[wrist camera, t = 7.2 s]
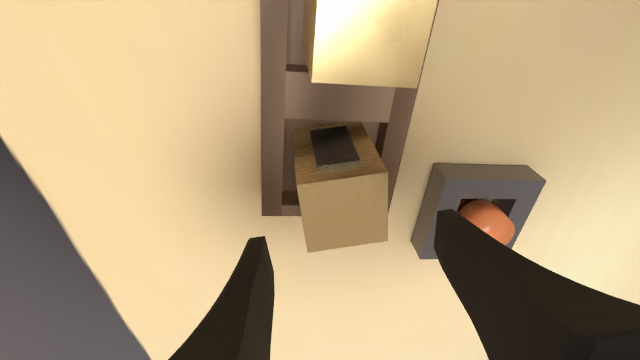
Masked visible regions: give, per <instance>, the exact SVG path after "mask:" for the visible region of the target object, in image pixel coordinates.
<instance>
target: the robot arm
mask: <svg viewBox="0 0 640 360" xmlns="http://www.w3.org/2000/svg"><path fill="white" fill-rule="evenodd" d="M434 249H435V252H436V255H437V257H438V260H439V262H440V264H441V267H442V269H443V271H444V273H445V274H446V276H447V278H448V280H449V282H450V283H451V285H452V287H453V289H454V290H455V292H456V294H457V296H458V297H459V299H460V301H461V302H462V304H463V306H464V308H465V309H466V311H467V313H468V315H469V317H470V318H471V320H472V322H473V324H474V326H475V328H476V331H477V333H478V335H479V337H480V340H481V342H482V344H483V346H484V349H485V351H486V353H487V356H488V358H489V360H640V305H638V304H635V303H632V302H628V301H625V300H622V299H619V298H616V297H613V296H610V295H608V294H605V293H602V292H600V291H597V290H594V289H592V288H589V287H587V286H584V285H582V284H579V283H577V282H574V281H572V280H570V279H568V278H565V277H563V276H561V275H559V274H556V273H554V272H552V271H550V270H548V269H546V268H544V267H542V266H540V265H538V264H537V263H535V262H533V261H531V260H529V259H527V258H525V257H524V256H522V255H520V254H518V253H517V252H515V251H513V250H512V249H510V248H508V247H507V246H505V245H504V244H502V243H500V242H499V241H497V240H496V239H494V238H493V237H491V236H490V235H488V234H487V233H485V232H484V231H483V230H481V229H480V228H478V227H477V226H476V225H474V224H473V223H471V222H470V221H469V220H467V219H466V218H464V217H463V216H462V215H460V214H459V213H457V212H456V211H454V210H453V209H447V210H440V211H437V220H436V229H435V238H434ZM273 307H274V271H273V267H272V263H271V259H270V255H269V251H268V247H267V243H266V239H265V236H263V237H256V238H250V239H249V240H248V242H247V244H246V246H245V249H244V251H243V253H242V255H241V257H240V260H239V262H238V264H237V266H236V267H235V269H234V271H233V273H232V275H231V277H230V279H229V280H228V282H227V284H226V286H225V287H224V289H223V290H222V292H221V294H220V295H219V297H218V299H217V300H216V302H215V303H214V305H213V306H212V308H211V309H210V310H209V312H208V313H207V315H206V316H205V317H204V319H203V320H202V321H201V323H200V324H199V325H198V326H197V328H196V329H195V330H194V331H193V333H192V334H191V335H190V336H189V338H188V339H187V340H186V341H185V342H184V343H183V344H182V346H181V347H180V348H179V349H178V350H177V351H176V352H175V353H174V354H173V355H172V356H171V357H170V358H169V359H168V360H270V345H271V333H272V320H273Z"/></svg>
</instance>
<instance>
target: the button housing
mask: <svg viewBox="0 0 640 360" xmlns="http://www.w3.org/2000/svg"><path fill="white" fill-rule="evenodd" d="M545 183H546V180H545V179H544V178H542V177H541V176H540V175H539V174H537V173H536V172H535V171H534V170H532V169H531V168H530V167H529V166H518V165H478V164H438V163H434V166H433V169H432V172H431V176H430V179H429V183H428V186H427V189H426V193H425V196H424V199H423V203H422V206H421V209H420V213H419V216H418V219H417V223H416V226H415V229H414V233H413V236H412V239H411V242H412V244H413V246H414V248H415V250H416V252H417V254H418V256H419V258H420V259H438V257H437V255H436V252H435V249H434V238H435V229H436V220H437V211H440V210H447V209H453V210H454V211H456V212H457V209H458V207H459V204H460V201H461V199H493V202H494V203H495V204H496V205H497V206H498V207H499V208H500V209H501V211H502V212H503V213H504V214H505V215H506V216H507V217H508V218H509V219H510V220H511V221H512V223H513V224H514V226H515V232H514V235H513V237H512V239H511V240H510V242H509V243H508V244H507V245H506V246H507V247H508V248H510V249H512V247H513V245H514V243H515V241H516V239H517V237H518V235H519V233H520V231H521V229H522V227H523V225H524V223H525V221H526V220H527V218H528V216H529V214H530V212H531V210H532V208H533V206H534V204H535V202H536V200H537V198H538V196H539V194H540V192H541V190H542V188H543V186H544V184H545Z"/></svg>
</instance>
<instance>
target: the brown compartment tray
mask: <svg viewBox="0 0 640 360" xmlns="http://www.w3.org/2000/svg"><path fill="white" fill-rule="evenodd" d="M438 3H439V0H438V2H437V6H436V10H435V14H434V19H435V15H436V11H437V7H438ZM260 4H261V166H262V216H302V215H301V209H300V203H299V197H298V191H297V185H296V173H295V161H294V149H293V138H292V129H295V128H303V127H310V126H317V125H324V124H332V123H339V122H346V121H361V123H362V124H363V126H364V128H365V130H366V132H367V134H368V136H369V137H370V139H371V141H372V143H373V145H374V147H375V149H376V150H377V152H378V154H379V156H380V158H381V160H382V162H383V163H384V165H385V167H386V169H387V171H388V212H389V208H390V203H391V199H392V195H393V191H394V187H395V183H396V178H397V174H398V170H399V166H400V162H401V157H402V153H403V149H404V145H405V141H406V136H407V132H408V128H409V124H410V120H411V116H412V111H413V107H414V103H415V99H416V95H417V90H418V86H419V82H420V78H421V74H422V70H423V65H424V61H425V57H426V53H427V49H428V44H429V40H430V36H431V32H432V28H433V23H434V19H433V23H432V27H431V31H430V36H429V40H428V44H427V48H426V52H425V57H424V61H423V65H422V69H421V73H420V78H419V82H418V86H417V88H402V87H384V86H366V85H348V84H330V83H312V82H311V79H310V75H309V72H308V69H307V65H306V62H305V58H304V55H303V51H302V35H303V17H304V0H260Z"/></svg>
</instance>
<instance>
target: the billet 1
mask: <svg viewBox="0 0 640 360" xmlns="http://www.w3.org/2000/svg"><path fill="white" fill-rule="evenodd" d="M437 2H438V0H304V17H303V35H302V51H303V55H304V58H305V62H306V65H307V69H308V72H309V75H310V79H311V82H312V83H330V84H348V85H366V86H384V87H402V88H417V86H418V82H419V78H420V73H421V69H422V65H423V61H424V57H425V52H426V48H427V44H428V40H429V36H430V31H431V27H432V23H433V19H434V14H435V10H436V6H437Z"/></svg>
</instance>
